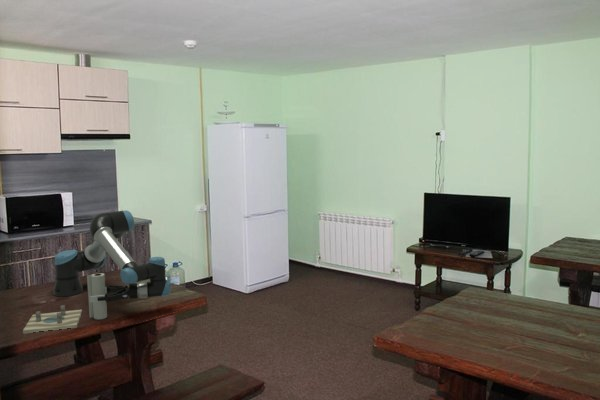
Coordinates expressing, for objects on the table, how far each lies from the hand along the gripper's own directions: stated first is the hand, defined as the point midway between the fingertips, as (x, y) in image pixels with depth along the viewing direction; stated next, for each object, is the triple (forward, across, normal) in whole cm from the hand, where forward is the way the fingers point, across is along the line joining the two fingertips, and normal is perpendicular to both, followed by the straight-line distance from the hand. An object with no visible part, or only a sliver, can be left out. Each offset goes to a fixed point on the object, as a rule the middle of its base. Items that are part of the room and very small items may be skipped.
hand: (91, 295), depth 242 cm
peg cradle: (+17, 0, -11) cm, 20 cm away
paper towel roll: (-3, 0, -12) cm, 12 cm away
